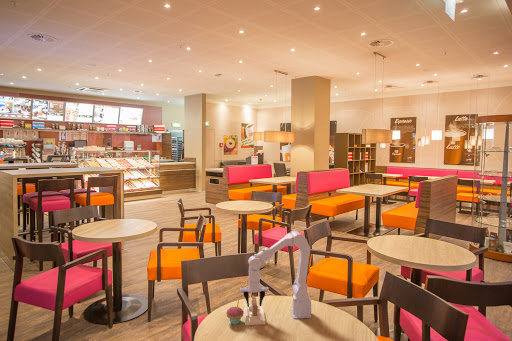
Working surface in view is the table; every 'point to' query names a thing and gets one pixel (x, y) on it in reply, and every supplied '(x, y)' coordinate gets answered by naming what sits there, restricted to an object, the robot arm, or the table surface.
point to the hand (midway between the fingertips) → (254, 305)
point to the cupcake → (235, 314)
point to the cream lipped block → (253, 319)
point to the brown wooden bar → (254, 305)
